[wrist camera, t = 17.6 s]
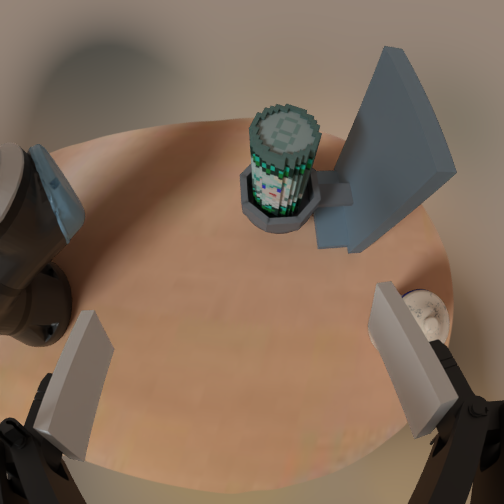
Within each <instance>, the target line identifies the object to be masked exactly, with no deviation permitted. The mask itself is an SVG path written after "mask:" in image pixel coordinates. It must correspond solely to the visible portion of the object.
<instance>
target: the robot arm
mask: <svg viewBox="0 0 504 504" xmlns="http://www.w3.org/2000/svg"><path fill="white" fill-rule="evenodd" d="M84 220H85V211H84V208H83V206H82V204H81V202H80V200H79V199H78V197H77V195H76V193H75V192H74V190H73V189H72V187H71V185H70V184H69V182H68V181H67V179H66V178H65V176H64V174H63V173H62V171H61V170H60V168H59V167H58V165H57V164H56V162H55V161H54V160H53V158H52V157H51V155H50V154H49V153H48V152H47V150H46V149H45V148H44V147H43V146H41V145H40V144H37V145H35V146H33V147H30V148H29V151H28V153H26V152H25V151H24V150H23V149H22V148H21V147H20V146H18V145H17V144H15V143H5V144H2V145H0V335H9V336H11V337H13V338H15V339H17V340H19V341H20V342H22V343H24V344H26V345H29V346H33V347H45V346H49V345H52V344H54V343H55V342H56V341H58V340H59V339H60V338H61V336H62V335H63V334H64V332H65V330H66V328H67V326H68V323H69V320H70V316H71V309H72V297H71V290H70V286H69V283H68V280H67V278H66V276H65V274H64V272H63V271H62V270H61V269H60V268H59V267H58V266H57V265H56V264H55V263H53V262H51V260H52V259H53V258H54V257H55V256H56V255H57V254H58V253H59V252H60V251H61V250H62V249H63V248H64V247H65V246H66V245H67V244H68V243H69V242H70V239H71V238H72V237H73V236H74V235H75V233H76V232H77V231H78V230H79V229H80V228H81V227H82V225H83V223H84ZM368 328H369V330H370V332H371V334H372V337H373V339H374V341H375V343H376V346H377V348H378V350H379V352H380V355H381V357H382V359H383V362H384V364H385V366H386V369H387V371H388V373H389V376H390V378H391V380H392V383H393V385H394V388H395V390H396V393H397V395H398V398H399V400H400V403H401V405H402V408H403V410H404V413H405V415H406V418H407V421H408V423H409V426H410V429H411V431H412V434H413V437H414V439H416V438H419V437H422V436H425V435H427V434H430V433H431V432H432V431H433V430H434V429H435V427H436V428H437V430H438V432H439V433H438V434H437V435H436V436H435V437H434V439H433V440H432V441H431V443H430V445H432V444H433V443H434V445H433V447H432V450H431V453H430V455H429V458H428V460H427V462H426V465H425V467H424V470H423V472H422V474H421V477H420V479H419V481H418V484H417V485H416V488H415V490H414V492H413V494H412V496H411V498H410V500H409V502H408V504H465V503H466V500H467V497H468V495H469V492H470V489H471V486H472V483H473V486H472V495H471V501H470V504H504V400H503V401H491V402H488V401H486V400H485V399H484V398H482V397H480V396H476V395H475V394H474V393H473V391H472V390H471V388H470V386H469V384H468V383H467V381H466V379H465V377H464V375H463V373H462V371H461V370H460V368H459V366H457V363H456V361H455V359H454V358H453V356H452V354H451V353H450V351H449V349H448V347H447V346H446V345H444V344H443V343H442V342H441V341H440V340H439V339H437V340H434V341H430V342H428V340H427V338H426V336H425V335H424V333H423V331H422V330H421V328H420V326H419V325H418V323H417V321H416V320H415V318H414V316H413V315H412V313H411V311H410V310H409V308H408V307H407V305H406V303H405V302H404V300H403V299H402V297H401V295H400V294H399V292H398V291H397V289H396V288H395V286H394V285H393V283H392V282H391V281H388V282H382V283H377V284H376V289H375V294H374V299H373V304H372V309H371V314H370V318H369V323H368ZM113 352H114V347H113V346H112V344H111V342H110V340H109V338H108V336H107V334H106V332H105V330H104V328H103V327H102V325H101V323H100V321H99V319H98V316H97V314H96V312H95V310H83V311H81V313H80V315H79V317H78V319H77V321H76V323H75V325H74V327H73V329H72V331H71V334H70V336H69V338H68V340H67V342H66V344H65V347H64V349H63V351H62V353H61V356H60V358H59V360H58V363H57V365H56V367H55V370H54V372H53V374H52V373H48V374H47V375H46V376H45V377H44V378H43V380H42V381H41V383H40V385H39V388H38V390H37V393H36V395H35V398H34V399H35V400H33V403H32V405H31V408H30V411H29V414H28V416H27V419H26V422H25V425H24V427H23V426H22V425H21V424H20V423H19V422H18V421H17V420H16V419H14V418H7V419H4V420H3V421H2V422H1V423H0V504H86V502H85V500H84V498H83V497H82V495H81V493H80V491H79V489H78V487H77V486H76V484H75V482H74V480H73V478H72V476H71V474H70V472H69V470H68V468H67V466H66V464H65V462H64V461H63V459H62V454H64V455H66V456H67V457H68V458H70V459H73V460H78V461H83V462H84V460H85V456H86V451H87V447H88V442H89V438H90V434H91V430H92V426H93V422H94V418H95V414H96V410H97V406H98V402H99V399H100V395H101V392H102V388H103V385H104V381H105V378H106V374H107V371H108V368H109V364H110V361H111V358H112V355H113ZM6 473H7V474H8V479H7V476H6Z"/></svg>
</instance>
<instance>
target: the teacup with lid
mask: <svg viewBox="0 0 504 504" xmlns="http://www.w3.org/2000/svg"><path fill="white" fill-rule="evenodd" d="M401 297H402V299H403V300H404V302H405V303H406V305H407V307H408V308H409V310H410V311H411V313H412V315H413V316H414V318H415V320H416V321H417V323H418V325H419V326H420V328H421V330H422V331H423V333H424V335H425V336H426V338H427V340H428V342H430V341H434V340H437V339H439V340H440V341H441V342H442V343H443V344H444V343H445V341H446V339H447V336H448V332H449V314H448V311H447V308H446V306H445V304H444V302H443V301H442V300H441V299H440V298H439V297H438V296H437V295H436V294H434V293H433V292H431V291H428V290H424V289H416V290H412V291H409V292H407V293H406V294H404V295H401ZM368 331H369V337H370V340H371V342H372V344H373V345H374V347H375V348H376V349H377V350H378V348H377V346H376V343H375V341H374V339H373V337H372V334H371V332H370V330H369V328H368ZM378 351H379V350H378Z"/></svg>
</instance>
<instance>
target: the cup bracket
mask: <svg viewBox="0 0 504 504" xmlns="http://www.w3.org/2000/svg"><path fill="white" fill-rule="evenodd" d="M456 173H457V171H456V168H455V166H454V162H453V159H452V156H451V154H450V151H449V148H448V146H447V143H446V140H445V137H444V135H443V132H442V130H441V127H440V125H439V122H438V120H437V118H436V115H435V113H434V111H433V109H432V106H431V104H430V102H429V100H428V98H427V95H426V93H425V91H424V89H423V87H422V85H421V83H420V81H419V79H418V77H417V75H416V73H415V71H414V69H413V67H412V65H411V64H410V62H409V60H408V58H407V56H406V55H405V53H404V51H403V49H399V48H394V47H388V46H384V48H383V51H382V54H381V57H380V59H379V62H378V64H377V67H376V69H375V72H374V74H373V77H372V79H371V82H370V84H369V87H368V89H367V92H366V94H365V97H364V99H363V101H362V104H361V107H360V109H359V111H358V114H357V116H356V118H355V121H354V123H353V126H352V128H351V130H350V133H349V135H348V138H347V140H346V142H345V144H344V147H343V149H342V151H341V154H340V156H339V158H338V161H337V163H336V165H335V168H334V171H316V170H315V169H313V168H312V169H311V172H310V176H309V179H308V182H307V186H306V189H305V192H304V196H303V199H302V201H301V204H300V207H299V209H298V212H297V213H296V212H294V213H293V216H292V217H290V216H289V217H280V218H269V217H267V216H266V215H265V214H264V213H262V212H261V211H260V210H259V209H257V207H256V206H255V203H254V199H253V185H252V168H251V164H250V165H249V166H248V167H247V168H246V169H245V170H244V171H243V172H242V173H241V174H240V187H241V204H242V210H243V214H245V215H246V216H247V217H248V218H249V220H250V221H251V222H252V223H253V224H254V225H255V226H257V227H258V228H260V229H262V230H264V231H265V232H270V233H275V234H283V233H289V232H292V231H295V230H299V229H300V228H301V226H303V225H304V224H305V223H306V222H307V220H308V219H309V218H310V216H311V215H312V214H314V222H315V229H316V237H317V245H318V249H326V248H340V247H347V248H348V254H349V253H361V252H362V251H363V250H365V249H366V248H367V247H368V246H370V245H371V244H372V243H374V242H375V241H376V240H377V239H379V238H380V237H381V236H382V235H384V234H385V233H386V232H387V231H389V230H390V229H391V228H392V227H394V226H395V225H396V224H397V223H399V222H400V221H401V220H402V219H403V218H405V217H406V216H407V215H408V214H409V213H411V212H412V211H413V210H414V209H416V208H417V207H418V206H419V205H420V204H421V203H423V202H424V201H425V200H426V199H427V198H428V197H430V196H431V195H432V194H433V193H434V192H436V191H437V190H438V189H439V188H440V187H441V186H442V185H443V184H445V183H446V182H447V181H448V180H449V179H450V178H451V177H453V176H454V175H455V174H456Z"/></svg>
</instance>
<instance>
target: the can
mask: <svg viewBox="0 0 504 504" xmlns="http://www.w3.org/2000/svg"><path fill="white" fill-rule="evenodd" d="M306 113H307V110H305V109H302V108H298V107H295V106H292V105H289V104H286V105H285V106H282V105H278V104H276V106H275V107H274V106H271V107H270V108H265V109H264V111H263V112H262V113H259V112H258V113H257V114H256V116H255V118H254V120H253V122H252V124H251V125H250V127H249V136H250V152H251V168H252V185H253V199H254V203H255V206H256V207H257V209H259V210H260V211H261V212H262V213H264V214H265V215H266V216H267V217H269V218H280V217H289V216H290V217H292V216H293V213H294V212H296V213H297V212H298V209H299V207H300V204H301V201H302V199H303V196H304V192H305V189H306V186H307V182H308V179H309V176H310V172H311V169H312V166H313V162H314V159H315V156H316V152H317V149H318V145H319V142H320V139H321V135H322V133H320V132H319V128H320V125H318V124H316V123H317V121H316V120H314V116H312V115H309V114H306Z"/></svg>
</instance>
